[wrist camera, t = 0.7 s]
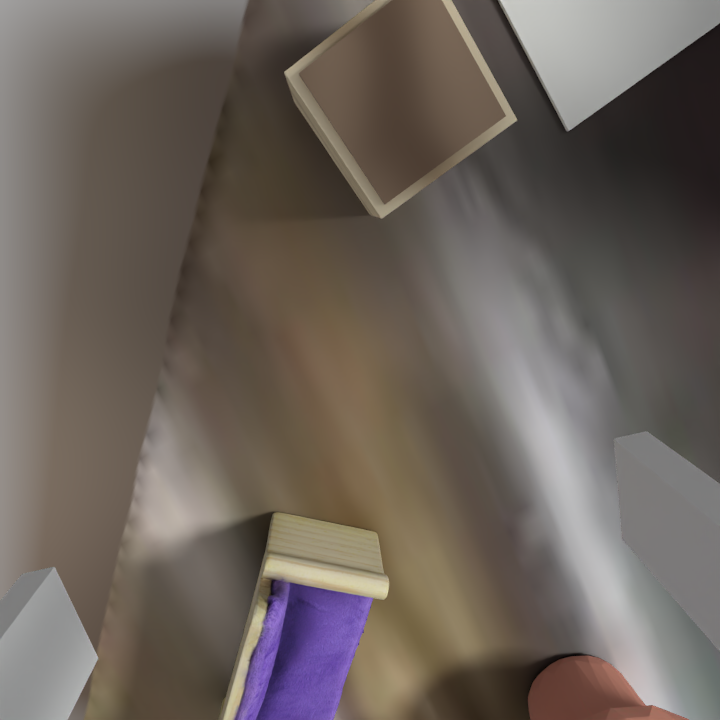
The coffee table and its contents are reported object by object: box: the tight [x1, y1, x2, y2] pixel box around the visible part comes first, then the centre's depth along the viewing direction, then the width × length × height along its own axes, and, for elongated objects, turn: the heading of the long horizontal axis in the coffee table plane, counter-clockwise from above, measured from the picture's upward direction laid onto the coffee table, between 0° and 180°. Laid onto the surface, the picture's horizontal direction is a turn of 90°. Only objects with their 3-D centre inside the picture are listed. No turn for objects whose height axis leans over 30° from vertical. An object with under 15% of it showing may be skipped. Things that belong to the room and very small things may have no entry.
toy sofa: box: [218, 512, 389, 720], centre depth 38 cm, size 21×9×10 cm, turn 164°
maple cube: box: [284, 0, 517, 219], centre depth 28 cm, size 8×8×8 cm
